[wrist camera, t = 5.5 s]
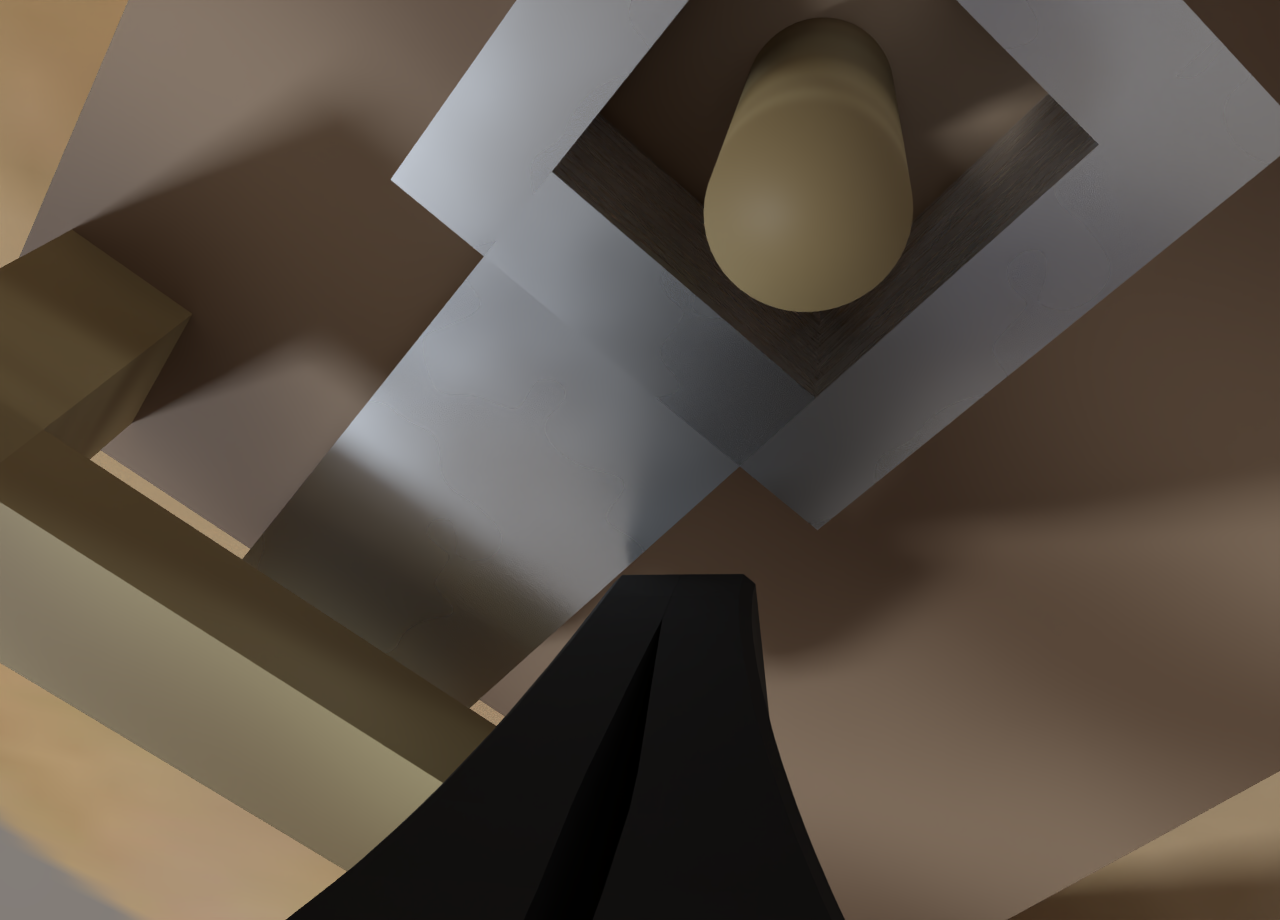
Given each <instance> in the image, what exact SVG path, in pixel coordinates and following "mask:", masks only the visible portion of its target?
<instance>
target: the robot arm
mask: <svg viewBox="0 0 1280 920" xmlns="http://www.w3.org/2000/svg"><path fill="white" fill-rule="evenodd" d="M286 920H845V919H844V916H843V914H842V912H841V910H840V908H839V906H838V904H837V901H836V899H835V897H834V895H833V893H832V890H831V888H830V886H829V883H828V881H827V879H826V876H825V874H824V872H823V869H822V867H821V865H820V862H819V860H818V858H817V855H816V853H815V850H814V848H813V846H812V843H811V840H810V838H809V835H808V833H807V830H806V828H805V825H804V823H803V820H802V817H801V815H800V812H799V809H798V807H797V804H796V801H795V798H794V795H793V792H792V789H791V786H790V784H789V781H788V778H787V775H786V772H785V769H784V766H783V763H782V760H781V757H780V753H779V750H778V747H777V744H776V740H775V737H774V733H773V730H772V726H771V722H770V717H769V708H768V698H767V689H766V679H765V669H764V660H763V650H762V641H761V631H760V622H759V612H758V602H757V593H756V584H755V583H754V582H753V581H752V580H750V579H749V578H748V577H747V576H745V575H744V574H666V575H621V576H620V577H619V578H618V579H617V580H616V581H615V582H614V583H613V584H612V586H611V587H610V588H609V590H608V591H607V592H606V593H605V595H604V596H603V597H602V599H601V600H600V601H599V602H598V604H597V605H596V606H595V608H594V609H593V610H592V611H591V613H590V614H589V615H588V617H587V618H586V619H585V620H584V622H583V623H582V624H581V626H580V627H579V628H578V629H577V631H576V632H575V633H574V635H573V636H572V637H571V638H570V640H569V641H568V642H567V643H566V645H565V646H564V647H563V648H562V650H561V651H560V652H559V653H558V655H557V656H556V657H555V658H554V659H553V661H552V662H551V663H550V664H549V666H548V667H547V668H546V669H545V670H544V672H543V673H542V674H541V675H540V676H539V677H538V679H537V680H536V681H535V682H534V683H533V685H532V686H531V687H530V688H529V689H528V690H527V692H526V693H525V694H524V695H523V696H522V697H521V699H520V700H519V701H518V702H517V703H516V705H515V706H514V707H513V708H512V709H511V710H510V712H509V713H508V714H507V715H506V716H505V717H504V718H503V720H502V721H501V722H500V723H499V724H498V725H497V726H496V727H495V729H494V730H493V731H492V732H491V733H490V734H489V735H488V736H487V737H486V738H485V739H484V740H483V741H482V742H481V743H480V744H479V745H478V747H477V748H476V749H475V750H474V751H473V752H472V753H471V754H470V755H469V756H468V757H467V758H466V759H465V760H464V761H463V762H462V763H461V765H460V766H459V767H458V768H457V769H456V770H455V771H454V772H453V773H452V774H451V775H450V776H449V777H448V778H447V779H446V780H445V781H444V783H443V784H442V785H441V786H440V787H439V788H438V789H437V790H436V791H435V792H433V793H432V794H431V795H430V796H429V797H428V798H427V799H426V800H425V801H424V802H423V803H422V804H421V805H420V806H419V807H418V808H417V809H416V810H415V811H414V812H413V813H412V814H411V815H410V816H409V817H408V818H407V819H405V820H404V821H403V822H402V823H401V824H400V825H399V826H398V827H397V828H396V829H395V830H394V831H393V832H391V833H390V834H389V835H388V836H387V837H386V838H385V839H384V840H382V841H381V842H380V843H379V844H378V845H377V846H376V847H375V848H374V849H372V850H371V851H370V852H369V853H368V854H367V855H366V856H365V857H364V858H362V859H361V860H360V861H359V862H358V863H357V864H355V865H354V866H353V867H352V868H351V869H350V870H348V871H347V872H346V873H345V874H343V875H342V876H341V877H340V878H339V879H337V880H336V881H335V882H334V883H332V884H331V885H330V886H328V887H327V888H326V889H325V890H323V891H322V892H321V893H319V894H318V895H317V896H316V897H314V898H313V899H312V900H311V901H309V902H308V903H307V904H305V905H304V906H303V907H302V908H300V909H299V910H298V911H296V912H295V913H294V914H293V915H291V916H290V917H289V918H287V919H286Z"/></svg>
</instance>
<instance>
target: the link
mask: <svg viewBox="0 0 1280 920" xmlns="http://www.w3.org/2000/svg"><path fill="white" fill-rule="evenodd" d="M688 1H689V0H516V2H515V3H514V4H513V6H512V7H511V9H510V10H509V12H508V13H507V14H506V16H505V17H504V19H503V20H502V22H501V23H500V24H499V26H498V27H497V29H496V30H495V31H494V33H493V34H492V36H491V37H490V39H489V40H488V41H487V43H486V44H485V46H484V47H483V49H482V50H481V51H480V53H479V54H478V56H477V57H476V59H475V60H474V61H473V63H472V64H471V66H470V67H469V69H468V70H467V71H466V73H465V74H464V76H463V77H462V78H461V80H460V81H459V83H458V84H457V86H456V87H455V88H454V90H453V91H452V93H451V94H450V96H449V97H448V98H447V100H446V101H445V103H444V104H443V106H442V107H441V108H440V110H439V111H438V113H437V114H436V116H435V117H434V118H433V120H432V121H431V123H430V124H429V125H428V127H427V128H426V130H425V131H424V133H423V134H422V135H421V137H420V138H419V140H418V141H417V143H416V144H415V145H414V147H413V148H412V150H411V151H410V153H409V154H408V155H407V157H406V158H405V160H404V161H403V163H402V164H401V165H400V167H399V168H398V170H397V171H396V172H395V174H394V175H393V177H392V178H391V180H392V181H393V182H394V183H395V184H396V185H398V186H399V187H400V188H401V189H402V190H404V191H405V192H406V193H407V194H409V195H410V196H411V197H412V198H413V199H415V200H416V201H417V202H418V203H420V204H421V205H422V206H423V207H424V208H426V209H427V210H428V211H429V212H430V213H432V214H433V215H434V216H435V217H437V218H438V219H439V220H440V221H441V222H443V223H444V224H445V225H446V226H448V227H449V228H450V229H451V230H452V231H454V232H455V233H456V234H457V235H459V236H460V237H461V238H462V239H463V240H465V241H466V242H467V243H468V244H469V245H471V246H472V247H473V248H474V249H476V250H477V251H478V252H479V253H480V254H482V255H483V256H484V257H483V258H482V260H481V261H480V262H479V263H478V265H477V266H476V267H475V268H474V270H473V271H472V272H471V273H470V275H469V276H468V277H467V278H466V280H465V281H464V282H463V283H462V285H461V286H460V287H459V288H458V290H457V291H456V292H455V293H454V295H453V296H452V297H451V298H450V300H449V301H448V302H447V303H446V305H445V306H444V307H443V308H442V310H441V311H440V312H439V313H438V315H437V316H436V317H435V318H434V320H433V321H432V322H431V323H430V325H429V326H428V327H427V329H426V330H425V331H424V332H423V334H422V335H421V336H420V337H419V339H418V340H417V341H416V342H415V344H414V345H413V346H412V347H411V349H410V350H409V351H408V352H407V354H406V355H405V356H404V357H403V359H402V360H401V361H400V362H399V364H398V365H397V366H396V367H395V369H394V370H393V371H392V372H391V374H390V375H389V376H388V377H387V379H386V380H385V381H384V382H383V384H382V385H381V386H380V387H379V389H378V390H377V391H376V392H375V394H374V395H373V396H372V397H371V399H370V400H369V401H368V402H367V404H366V405H365V406H364V407H363V409H362V410H361V411H360V412H359V414H358V415H357V416H356V417H355V419H354V420H353V421H352V422H351V424H350V425H349V426H348V427H347V429H346V430H345V431H344V433H343V434H342V435H341V436H340V438H339V439H338V440H337V441H336V443H335V444H334V445H333V446H332V448H331V449H330V450H329V451H328V453H327V454H326V455H325V456H324V458H323V459H322V460H321V461H320V463H319V464H318V465H317V466H316V468H315V469H314V470H313V471H312V473H311V474H310V475H309V476H308V478H307V479H306V480H305V481H304V483H303V484H302V485H301V486H300V488H299V489H298V490H297V491H296V493H295V494H294V495H293V496H292V498H291V499H290V500H289V501H288V503H287V504H286V505H285V506H284V508H283V509H282V510H281V511H280V513H279V514H278V515H277V516H276V518H275V519H274V520H273V521H272V523H271V524H270V525H269V526H268V528H267V529H266V530H265V531H264V533H263V534H262V535H261V536H260V538H259V539H258V540H257V542H256V543H255V544H254V545H253V547H252V548H251V549H250V550H249V552H248V553H247V554H246V555H245V557H244V558H243V559H242V560H243V561H245V562H247V563H248V564H250V565H251V566H253V567H254V568H256V569H257V570H259V571H260V572H262V573H263V574H265V575H266V576H268V577H269V578H271V579H272V580H274V581H276V582H277V583H279V584H280V585H282V586H283V587H285V588H286V589H288V590H289V591H291V592H292V593H294V594H295V595H297V596H298V597H300V598H301V599H303V600H305V601H306V602H308V603H309V604H311V605H312V606H314V607H315V608H317V609H318V610H320V611H321V612H323V613H324V614H326V615H327V616H329V617H330V618H332V619H334V620H335V621H337V622H338V623H340V624H341V625H343V626H344V627H346V628H347V629H349V630H350V631H352V632H353V633H355V634H356V635H358V636H359V637H361V638H363V639H364V640H366V641H367V642H369V643H370V644H372V645H373V646H375V647H376V648H378V649H379V650H381V651H382V652H384V653H385V654H387V655H388V656H390V657H392V658H393V659H395V660H396V661H398V662H399V663H401V664H402V665H404V666H405V667H407V668H408V669H410V670H411V671H413V672H414V673H416V674H417V675H419V676H421V677H422V678H424V679H425V680H427V681H428V682H430V683H431V684H433V685H434V686H436V687H437V688H439V689H440V690H442V691H443V692H445V693H446V694H448V695H450V696H451V697H453V698H454V699H456V700H457V701H459V702H460V703H462V704H463V705H465V706H466V707H468V708H470V707H471V706H472V705H474V704H475V703H476V702H477V701H478V700H479V699H480V698H481V697H482V696H484V695H485V694H486V693H487V692H488V691H489V690H490V689H491V688H493V687H494V686H495V685H496V684H497V683H498V682H499V681H500V680H501V679H503V678H504V677H505V676H506V675H507V674H508V673H509V672H510V671H512V670H513V669H514V668H515V667H516V666H517V665H518V664H519V663H520V662H522V661H523V660H524V659H525V658H526V657H527V656H528V655H529V654H531V653H532V652H533V651H534V650H535V649H536V648H537V647H538V646H539V645H541V644H542V643H543V642H544V641H545V640H546V639H547V638H548V637H550V636H551V635H552V634H553V633H554V632H555V631H556V630H557V629H558V628H560V627H561V626H562V625H563V624H564V623H565V622H566V621H567V620H568V619H570V618H571V617H572V616H573V615H574V614H575V613H576V612H577V611H579V610H580V609H581V608H582V607H583V606H584V605H585V604H586V603H587V602H589V601H590V600H591V599H592V598H593V597H594V596H595V595H596V594H598V593H599V592H600V591H601V590H602V589H603V588H604V587H605V586H606V585H608V584H609V583H610V582H611V581H612V580H613V579H614V578H615V577H617V576H618V575H619V574H620V573H621V572H622V571H623V570H624V569H625V568H627V567H628V566H629V565H630V564H631V563H632V562H633V561H634V560H636V559H637V558H638V557H639V556H640V555H641V554H642V553H643V552H644V551H646V550H647V549H648V548H649V547H650V546H651V545H652V544H653V543H655V542H656V541H657V540H658V539H659V538H660V537H661V536H662V535H663V534H665V533H666V532H667V531H668V530H669V529H670V528H671V527H672V526H674V525H675V524H676V523H677V522H678V521H679V520H680V519H681V518H682V517H684V516H685V515H686V514H687V513H688V512H689V511H690V510H691V509H693V508H694V507H695V506H696V505H697V504H698V503H699V502H700V501H701V500H703V499H704V498H705V497H706V496H707V495H708V494H709V493H710V492H712V491H713V490H714V489H715V488H716V487H717V486H718V485H719V484H720V483H722V482H723V481H724V480H725V479H726V478H727V477H728V476H729V475H731V474H732V473H733V472H734V471H735V470H736V469H737V468H738V467H739V466H740V467H741V468H742V469H744V470H745V471H746V472H747V473H748V474H750V475H751V476H752V477H753V478H754V479H756V480H757V481H758V482H759V483H761V484H762V485H763V486H764V487H765V488H767V489H768V490H769V491H770V492H772V493H773V494H774V495H775V496H776V497H778V498H779V499H780V500H781V501H782V502H784V503H785V504H786V505H787V506H789V507H790V508H791V509H792V510H793V511H795V512H796V513H797V514H798V515H800V516H801V517H802V518H803V519H804V520H806V521H807V522H808V523H809V524H811V525H812V526H813V527H814V528H815V529H817V530H818V529H820V528H821V527H822V526H823V525H824V524H826V523H827V522H828V521H829V520H831V519H832V518H833V517H834V516H836V515H837V514H838V513H839V512H841V511H842V510H843V509H844V508H846V507H847V506H848V505H849V504H850V503H852V502H853V501H854V500H855V499H857V498H858V497H859V496H860V495H862V494H863V493H864V492H865V491H867V490H868V489H869V488H870V487H871V486H873V485H874V484H875V483H876V482H878V481H879V480H880V479H881V478H883V477H884V476H885V475H886V474H888V473H889V472H890V471H891V470H892V469H894V468H895V467H896V466H897V465H899V464H900V463H901V462H902V461H904V460H905V459H906V458H907V457H909V456H910V455H911V454H912V453H913V452H915V451H916V450H917V449H918V448H920V447H921V446H922V445H923V444H925V443H926V442H927V441H928V440H930V439H931V438H932V437H933V436H934V435H936V434H937V433H938V432H939V431H941V430H942V429H943V428H944V427H946V426H947V425H948V424H949V423H951V422H952V421H953V420H954V419H955V418H957V417H958V416H959V415H960V414H962V413H963V412H964V411H965V410H967V409H968V408H969V407H970V406H972V405H973V404H974V403H975V402H976V401H978V400H979V399H980V398H981V397H983V396H984V395H985V394H986V393H988V392H989V391H990V390H991V389H993V388H994V387H995V386H996V385H997V384H999V383H1000V382H1001V381H1002V380H1004V379H1005V378H1006V377H1007V376H1009V375H1010V374H1011V373H1012V372H1014V371H1015V370H1016V369H1017V368H1018V367H1020V366H1021V365H1022V364H1023V363H1025V362H1026V361H1027V360H1028V359H1030V358H1031V357H1032V356H1033V355H1035V354H1036V353H1037V352H1038V351H1039V350H1041V349H1042V348H1043V347H1044V346H1046V345H1047V344H1048V343H1049V342H1051V341H1052V340H1053V339H1054V338H1056V337H1057V336H1058V335H1059V334H1061V333H1062V332H1063V331H1064V330H1065V329H1067V328H1068V327H1069V326H1070V325H1072V324H1073V323H1074V322H1075V321H1077V320H1078V319H1079V318H1080V317H1082V316H1083V315H1084V314H1085V313H1086V312H1088V311H1089V310H1090V309H1091V308H1093V307H1094V306H1095V305H1096V304H1098V303H1099V302H1100V301H1101V300H1103V299H1104V298H1105V297H1106V296H1107V295H1109V294H1110V293H1111V292H1112V291H1114V290H1115V289H1116V288H1117V287H1119V286H1120V285H1121V284H1122V283H1124V282H1125V281H1126V280H1127V279H1128V278H1130V277H1131V276H1132V275H1133V274H1135V273H1136V272H1137V271H1138V270H1140V269H1141V268H1142V267H1143V266H1145V265H1146V264H1147V263H1148V262H1149V261H1151V260H1152V259H1153V258H1154V257H1156V256H1157V255H1158V254H1159V253H1161V252H1162V251H1163V250H1164V249H1166V248H1167V247H1168V246H1169V245H1170V244H1172V243H1173V242H1174V241H1175V240H1177V239H1178V238H1179V237H1180V236H1182V235H1183V234H1184V233H1185V232H1187V231H1188V230H1189V229H1190V228H1191V227H1193V226H1194V225H1195V224H1196V223H1198V222H1199V221H1200V220H1201V219H1203V218H1204V217H1205V216H1206V215H1208V214H1209V213H1210V212H1211V211H1212V210H1214V209H1215V208H1216V207H1217V206H1219V205H1220V204H1221V203H1222V202H1224V201H1225V200H1226V199H1227V198H1229V197H1230V196H1231V195H1232V194H1233V193H1235V192H1236V191H1237V190H1238V189H1240V188H1241V187H1242V186H1243V185H1245V184H1246V183H1247V182H1248V181H1250V180H1251V179H1252V178H1253V177H1255V176H1256V175H1257V174H1258V173H1259V172H1261V171H1262V170H1263V169H1264V168H1266V167H1267V166H1268V165H1269V164H1271V163H1272V162H1273V161H1274V160H1276V159H1277V158H1278V157H1279V156H1280V105H1279V104H1278V103H1277V102H1276V101H1275V100H1274V99H1273V98H1272V97H1271V95H1270V94H1269V93H1268V92H1267V91H1266V90H1265V89H1264V88H1263V87H1262V86H1261V85H1260V83H1259V82H1258V81H1257V80H1256V79H1255V78H1254V77H1253V76H1252V75H1251V74H1250V73H1249V72H1248V70H1247V69H1246V68H1245V67H1244V66H1243V65H1242V64H1241V63H1240V62H1239V61H1238V60H1237V59H1236V57H1235V56H1234V55H1233V54H1232V53H1231V52H1230V51H1229V50H1228V49H1227V48H1226V47H1225V45H1224V44H1223V43H1222V42H1221V41H1220V40H1219V39H1218V38H1217V37H1216V36H1215V35H1214V34H1213V32H1212V31H1211V30H1210V29H1209V28H1208V27H1207V26H1206V25H1205V24H1204V23H1203V22H1202V20H1201V19H1200V18H1199V17H1198V16H1197V15H1196V14H1195V13H1194V12H1193V11H1192V10H1191V9H1190V7H1189V6H1188V5H1187V4H1186V3H1185V2H1184V1H1183V0H957V1H958V2H959V3H960V4H961V5H962V6H963V7H964V8H965V9H966V10H967V11H968V12H969V14H970V15H971V16H972V17H973V18H974V19H975V20H976V21H977V22H978V23H979V24H980V25H981V26H982V27H983V28H984V29H985V30H986V31H987V32H988V33H989V34H990V35H991V36H992V37H993V38H994V39H995V40H996V41H997V42H998V43H999V44H1000V45H1001V46H1002V47H1003V48H1004V49H1005V50H1006V51H1007V52H1008V53H1009V54H1010V55H1011V56H1012V57H1013V58H1014V59H1015V60H1016V61H1017V62H1018V63H1019V64H1020V65H1021V66H1022V67H1023V68H1024V69H1025V70H1026V71H1027V72H1028V73H1029V74H1030V75H1031V76H1032V77H1033V78H1034V79H1035V80H1036V81H1037V82H1038V83H1039V84H1040V85H1041V86H1042V87H1043V88H1044V89H1045V90H1046V91H1047V92H1048V94H1047V95H1046V96H1045V97H1044V98H1043V99H1042V100H1041V101H1039V102H1038V103H1037V104H1036V105H1035V106H1034V107H1033V108H1032V109H1031V110H1030V111H1029V112H1028V113H1027V114H1026V115H1025V116H1024V117H1023V118H1022V119H1020V120H1019V121H1018V122H1017V123H1016V124H1015V125H1014V126H1013V127H1012V128H1011V129H1010V130H1009V131H1008V132H1007V133H1006V134H1005V135H1004V136H1003V137H1002V138H1000V139H999V140H998V141H997V142H996V143H995V144H994V145H993V146H992V147H991V148H990V149H989V150H988V151H987V152H986V153H985V154H984V155H983V156H982V157H980V158H979V159H978V160H977V161H976V162H975V163H974V164H973V165H972V166H971V167H970V168H969V169H968V170H967V171H966V172H965V173H964V174H963V175H961V176H960V177H959V178H958V179H957V180H956V181H955V182H954V183H953V184H952V185H951V186H950V187H949V188H948V189H947V190H946V191H945V192H944V193H943V194H941V195H940V196H939V197H938V198H937V199H936V200H935V201H934V202H933V203H932V204H931V205H930V206H929V207H928V208H927V209H926V210H925V211H924V212H923V213H921V214H920V215H919V216H918V217H917V218H916V219H915V220H914V221H913V222H912V225H911V230H910V235H909V238H908V241H907V244H906V247H905V249H904V251H903V253H902V255H901V257H900V259H899V260H898V262H897V263H896V265H895V266H894V268H893V269H892V270H891V272H890V273H889V274H888V275H887V276H886V277H885V278H884V280H883V281H881V282H880V283H879V284H878V285H877V286H876V287H875V288H874V289H872V290H871V291H869V292H868V293H866V294H865V295H863V296H862V297H860V298H858V299H856V300H854V301H852V302H850V303H848V304H845V305H843V306H840V307H837V308H833V309H829V310H824V311H815V312H796V311H788V310H783V309H779V308H775V307H772V306H769V305H767V304H764V303H762V302H760V301H758V300H756V299H754V298H752V297H750V296H749V295H747V294H746V293H745V292H743V291H742V290H740V289H739V288H738V287H737V286H736V285H735V284H734V283H733V282H732V281H731V280H730V279H729V278H728V277H727V276H726V275H725V273H724V272H723V271H722V269H721V268H720V266H719V265H718V263H717V262H716V260H715V258H714V256H713V254H712V252H711V249H710V246H709V243H708V240H707V237H706V232H705V226H704V206H703V205H702V204H701V203H700V202H699V201H698V200H697V199H695V198H694V197H693V196H692V195H691V194H690V193H689V192H688V191H686V190H685V189H684V188H683V187H682V186H681V185H680V184H678V183H677V182H676V181H675V180H674V179H673V178H672V177H671V176H669V175H668V174H667V173H666V172H665V171H664V170H663V169H662V168H660V167H659V166H658V165H657V164H656V163H655V162H654V161H653V160H651V159H650V158H649V157H648V156H647V155H646V154H645V153H643V152H642V151H641V150H640V149H639V148H638V147H637V146H636V145H634V144H633V143H632V142H631V141H630V140H629V139H628V138H627V137H625V136H624V135H623V134H622V133H621V132H620V131H619V130H617V129H616V128H615V127H614V126H613V125H612V124H611V123H610V122H608V121H607V120H606V119H605V118H604V117H603V116H602V115H601V114H599V113H600V111H601V110H602V109H603V108H604V106H605V105H606V104H607V103H608V101H609V100H610V99H611V98H612V96H613V95H614V94H615V93H616V91H617V90H618V89H619V88H620V86H621V85H622V84H623V83H624V81H625V80H626V79H627V78H628V76H629V75H630V74H631V73H632V71H633V70H634V69H635V68H636V66H637V65H638V64H639V63H640V61H641V60H642V59H643V58H644V56H645V55H646V54H647V53H648V51H649V50H650V49H651V48H652V46H653V45H654V44H655V43H656V41H657V40H658V39H659V38H660V36H661V35H662V34H663V33H664V31H665V30H666V29H667V28H668V26H669V25H670V24H671V23H672V21H673V20H674V19H675V18H676V16H677V15H678V14H679V12H680V11H681V10H682V9H683V7H684V6H685V5H686V4H687V2H688Z"/></svg>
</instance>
